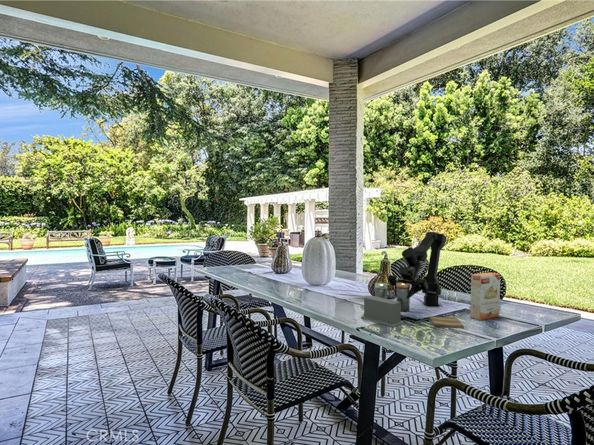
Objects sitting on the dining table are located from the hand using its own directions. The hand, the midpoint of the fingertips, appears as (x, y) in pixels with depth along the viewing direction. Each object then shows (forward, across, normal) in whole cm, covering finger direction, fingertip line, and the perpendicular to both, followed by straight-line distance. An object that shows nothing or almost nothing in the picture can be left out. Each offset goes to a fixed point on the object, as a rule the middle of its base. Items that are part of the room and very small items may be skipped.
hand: (401, 296), depth 174 cm
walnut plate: (+2, +18, +12) cm, 22 cm away
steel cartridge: (0, -16, +14) cm, 22 cm away
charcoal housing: (+14, -5, +1) cm, 15 cm away
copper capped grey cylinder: (+4, 0, +6) cm, 7 cm away
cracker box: (-13, +28, +28) cm, 42 cm away
